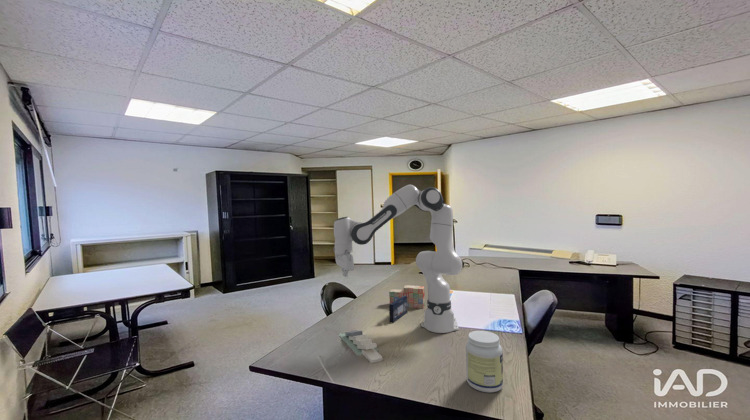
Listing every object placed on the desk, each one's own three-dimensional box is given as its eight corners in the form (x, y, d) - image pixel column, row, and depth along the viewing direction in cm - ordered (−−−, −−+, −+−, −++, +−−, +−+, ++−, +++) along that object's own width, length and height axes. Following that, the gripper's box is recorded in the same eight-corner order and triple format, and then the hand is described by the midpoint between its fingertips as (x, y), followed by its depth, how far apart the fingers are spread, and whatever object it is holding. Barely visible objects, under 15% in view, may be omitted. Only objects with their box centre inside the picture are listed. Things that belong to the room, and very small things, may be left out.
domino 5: (361, 349, 136) (371, 360, 127) (372, 346, 138) (382, 357, 129) (361, 352, 136) (371, 364, 127) (372, 350, 138) (382, 361, 129)
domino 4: (357, 344, 140) (365, 345, 132) (367, 342, 142) (376, 343, 134) (357, 348, 140) (365, 349, 131) (367, 346, 142) (376, 347, 133)
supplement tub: (509, 393, 105) (508, 343, 105) (472, 394, 105) (471, 344, 105) (495, 374, 117) (494, 328, 117) (462, 374, 117) (461, 329, 117)
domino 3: (352, 340, 145) (360, 341, 136) (362, 338, 147) (371, 338, 138) (353, 344, 144) (361, 345, 136) (363, 342, 146) (371, 342, 138)
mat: (338, 335, 156) (338, 334, 156) (356, 331, 160) (356, 330, 160) (357, 356, 133) (357, 355, 133) (378, 351, 138) (378, 350, 138)
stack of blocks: (389, 306, 198) (388, 286, 198) (391, 303, 204) (391, 284, 204) (423, 308, 192) (423, 288, 192) (424, 305, 198) (424, 286, 198)
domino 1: (345, 332, 154) (352, 333, 145) (354, 330, 156) (362, 330, 147) (345, 335, 153) (352, 336, 145) (355, 333, 156) (362, 334, 147)
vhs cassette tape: (393, 323, 170) (392, 305, 170) (388, 322, 171) (388, 304, 171) (408, 313, 185) (407, 296, 185) (403, 312, 187) (403, 295, 187)
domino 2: (348, 336, 149) (356, 337, 141) (358, 334, 152) (366, 334, 143) (349, 339, 149) (356, 340, 140) (359, 337, 151) (366, 338, 143)
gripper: (356, 251, 151) (357, 279, 152) (343, 246, 170) (345, 271, 171) (343, 252, 149) (345, 281, 149) (332, 247, 168) (334, 273, 168)
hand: (345, 276), depth 160 cm, fingers closed
